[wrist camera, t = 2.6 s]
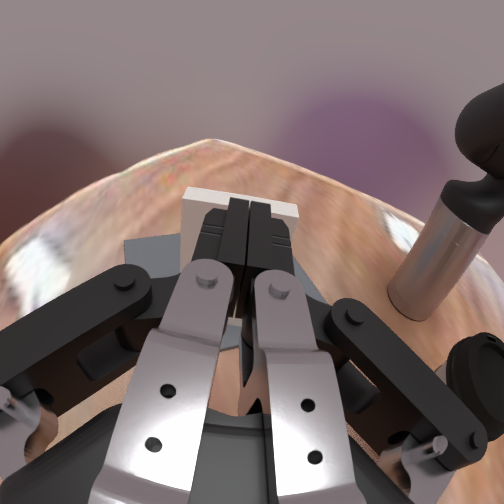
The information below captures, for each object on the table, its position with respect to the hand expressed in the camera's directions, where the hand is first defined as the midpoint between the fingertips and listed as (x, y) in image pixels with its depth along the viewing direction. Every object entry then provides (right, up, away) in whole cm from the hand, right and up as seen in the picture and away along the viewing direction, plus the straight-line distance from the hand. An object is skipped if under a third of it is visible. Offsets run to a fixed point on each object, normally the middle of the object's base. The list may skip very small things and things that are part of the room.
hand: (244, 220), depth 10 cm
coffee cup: (+16, -22, +11) cm, 29 cm away
